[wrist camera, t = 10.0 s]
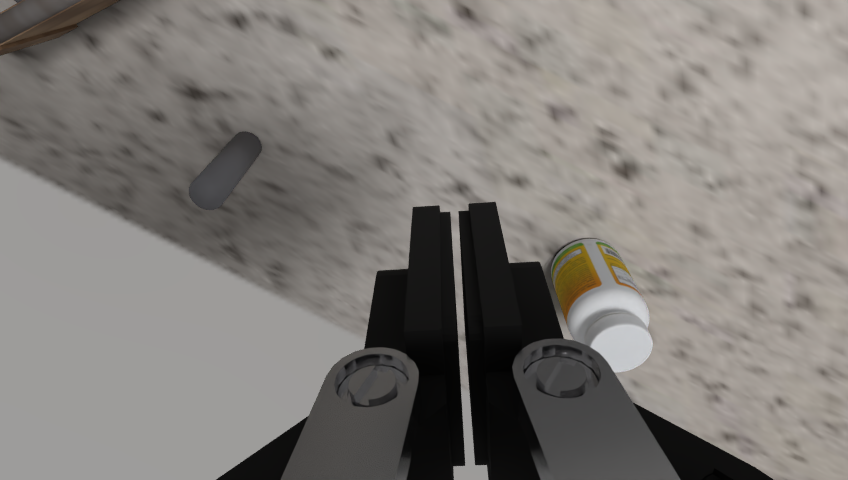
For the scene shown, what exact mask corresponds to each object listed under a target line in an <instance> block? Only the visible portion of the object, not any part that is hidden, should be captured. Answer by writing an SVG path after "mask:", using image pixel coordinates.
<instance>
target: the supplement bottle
mask: <svg viewBox="0 0 848 480" xmlns="http://www.w3.org/2000/svg"><path fill="white" fill-rule="evenodd" d="M551 278H552V282H553V285H554V288H555V291H556V294H557V297H558V299H559V302H560V305H561V308H562V311H563V314H564V317H565V320H566V323H567V326H568V329H569V332H570V334H571V336H572V338H573V339H574V340H575V341H577V342H580V343H582V344H585V345H588V346H589V347H591V348H593V349H594V350H596V351H597V352H599V353H600V354H601V355H602V356H603V357H604V359H605V360H606V361H607V362H608V363H609V365H610V367H611V368H612V370H613V371H614V372H624V371H628V370H631V369H633V368H636V367H637V366H639V365H641V364H642V363H643V362H644V361H645V360H646V359H647V358H648V357H649V355H650V353H651V351H652V346H653V342H652V338H651V335H650V333H649V331H648V329H647V328H648V325H649V310H648V307H647V305H646V303H645V300H644V299H643V297H642V295H641V293H640V291H639V290H638V288H637V286H636V284H635V282H634V281H633V279H632V277H631V275H630V273H629V271H628V270H627V268H626V266H625V264H624V262H623V261H622V259H621V257H620V256H619V254H618V253H617V251H616V250H615V249H614V248H613V247H612V246H611V245H610V244H608V243H606V242H604V241H602V240H598V239H582V240H578V241H575V242H573V243H571V244H569V245H567V246H565V247H564V248H563V249H562V250H561V251H560V252H559V253H558V254H557V255H556V257H555V258H554V260H553V263H552V267H551Z"/></svg>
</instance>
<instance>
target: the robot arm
mask: <svg viewBox="0 0 848 480" xmlns="http://www.w3.org/2000/svg"><path fill="white" fill-rule="evenodd" d="M459 228H460V247H461V265H462V284H463V303H464V321H465V336H466V349H467V363H468V376H469V389H470V403H471V416H472V427H473V443H474V455H475V465H487V468H488V478H489V480H773V479H772V478H770V477H769V476H767V475H766V474H764V473H763V472H761V471H760V470H758V469H757V468H755V467H753V466H751V465H750V464H748V463H746V462H744V461H742V460H740V459H738V458H736V457H735V456H733V455H731V454H729V453H727V452H725V451H723V450H721V449H719V448H718V447H716V446H714V445H712V444H710V443H708V442H706V441H704V440H703V439H701V438H699V437H697V436H695V435H693V434H691V433H689V432H688V431H686V430H684V429H682V428H680V427H678V426H676V425H674V424H672V423H671V422H669V421H667V420H665V419H663V418H661V417H659V416H657V415H656V414H654V413H652V412H650V411H648V410H646V409H644V408H642V407H641V406H639V405H637V404H635V403H633V402H632V400H631V399H630V397H629V396H628V394H627V392H626V391H625V389H624V388H623V386H622V384H621V383H620V381H619V380H618V378H617V376H616V375H615V373H614V371H613V370H612V368H611V367H610V365H609V363H608V362H607V361H606V360H605V359H604V357H603V356H602V355H601V354H600V353H599V352H597V351H596V350H594V349H593V348H591V347H589V346H588V345H585V344H582V343H580V342H577V341H574V340H567V339H564V338H563V335H562V331H561V328H560V325H559V322H558V318H557V315H556V312H555V309H554V305H553V302H552V299H551V296H550V293H549V289H548V286H547V283H546V280H545V276H544V273H543V270H542V267H541V264H540V262H521V263H509V262H508V257H507V252H506V248H505V243H504V239H503V234H502V229H501V225H500V220H499V216H498V211H497V206H496V203H495V202H488V203H472V204H469V211H459ZM453 466H465V454H464V438H463V419H462V402H461V384H460V366H459V348H458V331H457V314H456V298H455V282H454V266H453V250H452V233H451V217H450V212H440V207H439V206H425V207H413V212H412V226H411V239H410V253H409V266H408V269H400V270H383V271H378V272H377V275H376V280H375V287H374V293H373V299H372V305H371V311H370V317H369V323H368V330H367V336H366V342H365V348H364V349H363V350H359V351H356V352H353V353H351V354H349V355H347V356H346V357H344V358H342V359H341V360H340V361H339V362H337V363H336V364H335V365H334V366H333V367H332V368H331V370H330V371H329V373H328V375H327V376H326V378H325V380H324V382H323V385H322V387H321V389H320V392H319V394H318V396H317V398H316V401H315V403H314V405H313V407H312V410H311V412H310V414H309V416H308V417H306V418H305V419H303V420H302V421H301V422H299V423H298V424H296V425H295V426H293V427H292V428H290V429H289V430H287V431H286V432H285V433H283V434H282V435H280V436H279V437H277V438H276V439H274V440H273V441H272V442H270V443H269V444H267V445H266V446H264V447H263V448H261V449H260V450H258V451H257V452H256V453H254V454H253V455H251V456H250V457H249V458H247V459H245V460H244V461H243V462H241V463H240V464H238V465H237V466H235V467H234V468H232V469H231V470H229V471H228V472H227V473H225V474H224V475H222V476H221V477H219V478H218V479H217V480H454V479H453V478H454V476H453Z"/></svg>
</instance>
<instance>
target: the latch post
mask: <svg viewBox="0 0 848 480" xmlns="http://www.w3.org/2000/svg"><path fill="white" fill-rule="evenodd" d="M261 149H262V146H261V142H260V140H259V139H258V137H257V136H255V135H254V134H252V133H250V132H240V133H238V134H237V135H236V136H235V137H234V138H233V139H232V140H231V141H230V142H229V143H228V144H227V145H226V146H225V147H224V149H223V150H222V151H221V152H220V153H219V154H218V155H217V156H216V157H215V158H214V159H213V160H212V162H211V163H210V164H209V165H208V166H207V167H206V168H205V169H204V170H203V171H202V172H201V173H200V175H199V176H198V177H197V178H196V179H195V180H194V181H193V182H192V183H191V185H190V187H189V195H190V198H191V199H192V201H193V202H194V203H195V204H196V205H197V206H199V207H200V208H203V209H206V210H214V209H217V208H219V207H220V206H221V205H222V204H223V202H224V201H225V200H226V198H227V197H228V196H229V194H230V193H231V192H232V190H233V189H234V188H235V186H236V185H237V184H238V182H239V181H240V180H241V178H242V177H243V176H244V174H245V173H246V172H247V170H248V169H249V168H250V166H251V165H252V164H253V162H254V161H255V160H256V158H257V157H258V155H259V154H260V152H261Z"/></svg>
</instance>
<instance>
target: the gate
mask: <svg viewBox="0 0 848 480" xmlns="http://www.w3.org/2000/svg"><path fill="white" fill-rule="evenodd" d="M118 1H120V0H22V1H21V2H19V3H17V4H15V5H13V6H12V7H10V8H8V9H6V10H4V11H3V12H1V13H0V56H1V55H4V54H7V53H10V52H13V51H17V50H20V49H23V48H26V47H29V46H33V45H36V44H39V43H42V42H45V41H49V40H52V39H55V38H58V37H60V36H62V35H64V34H66V33H68V32H70V31H71V30H73V29H75V28H77V27H78V26H77V23H78V22H80V21H82V20H84V19H86V18H88V17H90V16H92V15H94V14H95V13H97V12H99V11H101V10H103V9H105V8H107V7H109V6H111V5H112V4H114V3H116V2H118Z"/></svg>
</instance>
